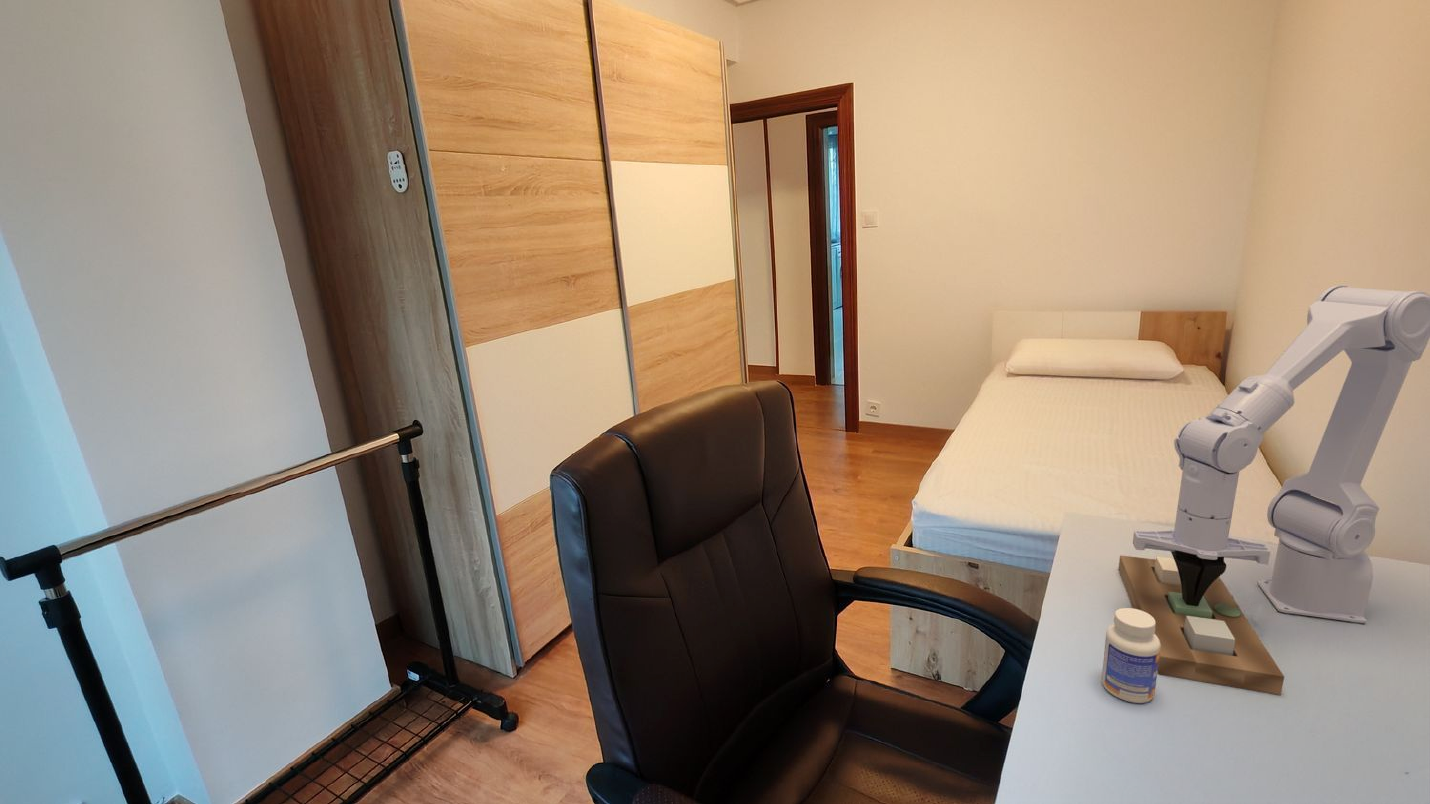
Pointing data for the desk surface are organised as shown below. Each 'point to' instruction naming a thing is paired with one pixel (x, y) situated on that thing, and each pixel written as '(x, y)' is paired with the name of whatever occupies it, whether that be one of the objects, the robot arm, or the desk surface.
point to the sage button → (1188, 606)
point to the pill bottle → (1131, 656)
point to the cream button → (1166, 571)
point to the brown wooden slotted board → (1176, 658)
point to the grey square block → (1208, 635)
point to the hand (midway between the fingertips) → (1189, 601)
